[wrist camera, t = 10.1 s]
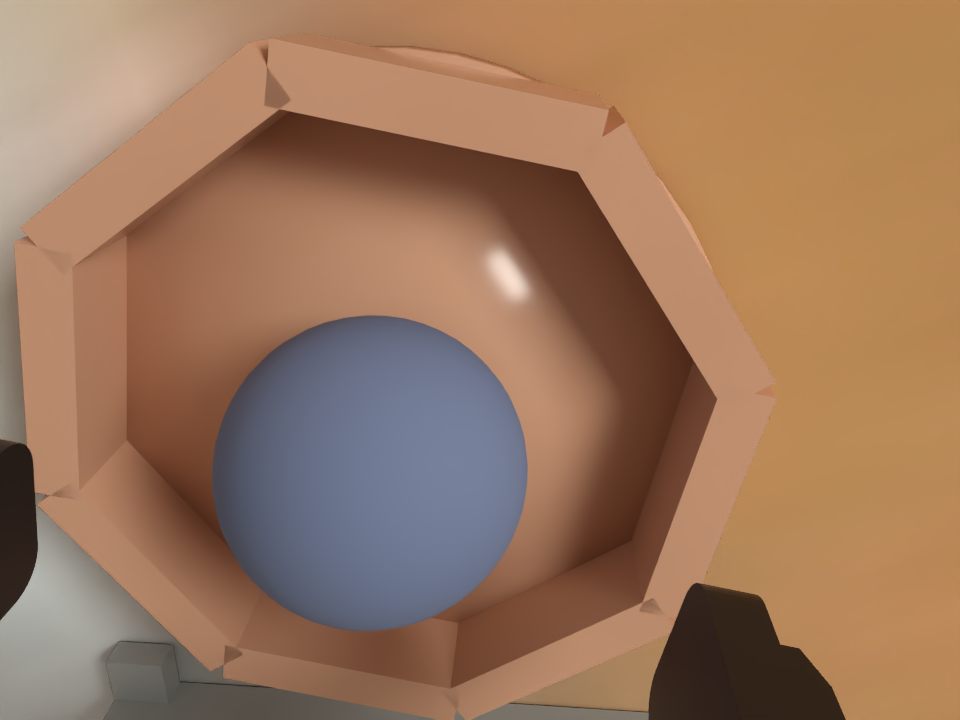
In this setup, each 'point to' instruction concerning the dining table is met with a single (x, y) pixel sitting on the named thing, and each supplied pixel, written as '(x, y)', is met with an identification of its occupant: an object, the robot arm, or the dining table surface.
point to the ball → (369, 473)
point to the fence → (265, 697)
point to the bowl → (405, 294)
